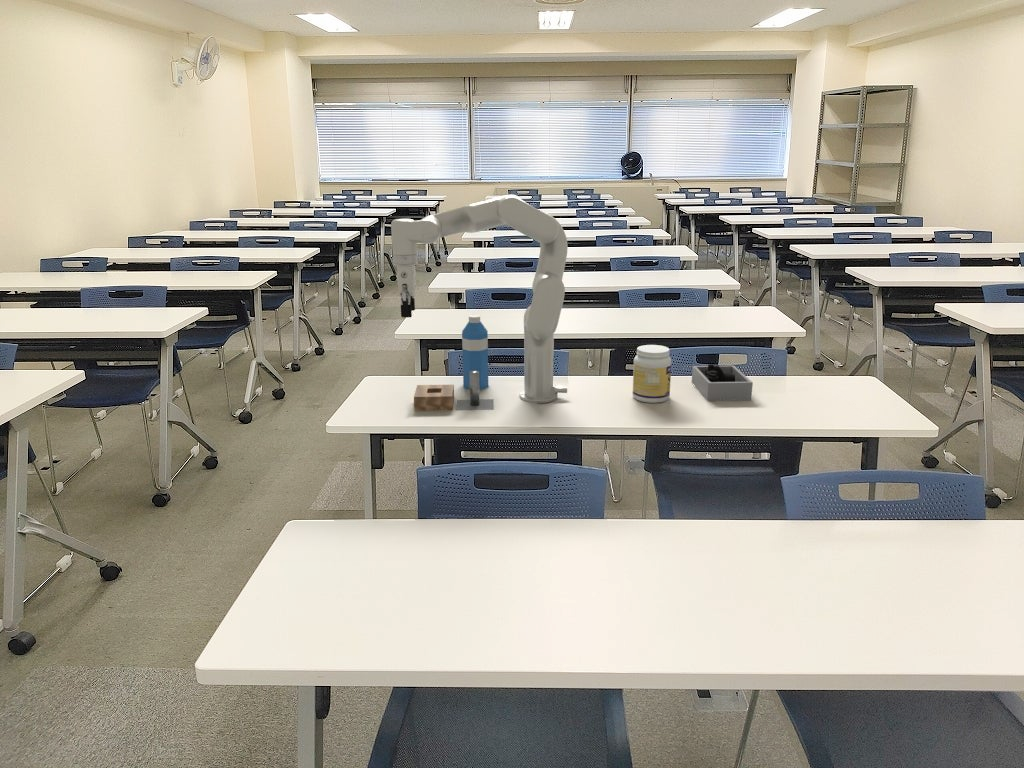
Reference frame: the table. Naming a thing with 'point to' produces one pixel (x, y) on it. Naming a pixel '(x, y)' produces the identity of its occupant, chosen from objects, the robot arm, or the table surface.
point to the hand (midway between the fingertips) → (408, 313)
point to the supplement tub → (652, 374)
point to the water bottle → (475, 351)
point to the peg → (474, 388)
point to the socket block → (434, 397)
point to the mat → (484, 405)
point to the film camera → (718, 374)
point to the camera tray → (722, 385)
